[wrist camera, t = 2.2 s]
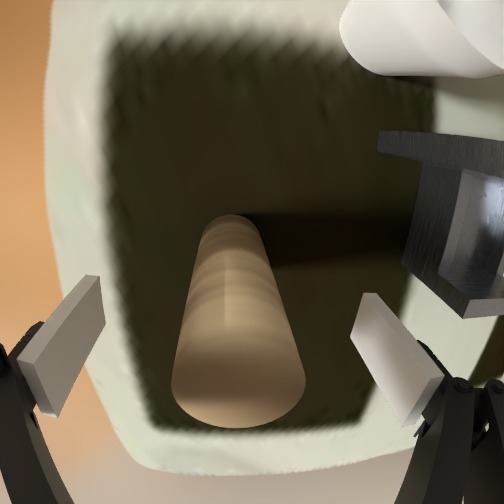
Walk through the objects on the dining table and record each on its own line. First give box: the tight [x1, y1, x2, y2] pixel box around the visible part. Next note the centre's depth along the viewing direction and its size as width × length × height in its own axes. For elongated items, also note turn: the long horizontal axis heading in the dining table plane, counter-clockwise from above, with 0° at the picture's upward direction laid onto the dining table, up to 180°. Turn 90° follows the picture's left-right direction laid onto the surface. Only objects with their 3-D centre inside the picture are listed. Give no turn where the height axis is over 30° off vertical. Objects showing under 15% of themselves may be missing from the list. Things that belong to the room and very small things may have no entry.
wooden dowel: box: [171, 214, 306, 428], centre depth 16 cm, size 4×4×14 cm
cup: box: [339, 0, 504, 79], centre depth 11 cm, size 9×9×12 cm
